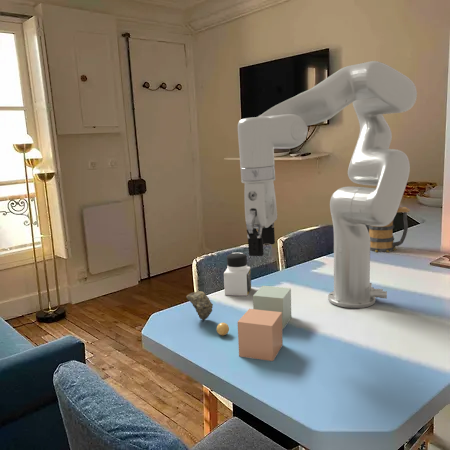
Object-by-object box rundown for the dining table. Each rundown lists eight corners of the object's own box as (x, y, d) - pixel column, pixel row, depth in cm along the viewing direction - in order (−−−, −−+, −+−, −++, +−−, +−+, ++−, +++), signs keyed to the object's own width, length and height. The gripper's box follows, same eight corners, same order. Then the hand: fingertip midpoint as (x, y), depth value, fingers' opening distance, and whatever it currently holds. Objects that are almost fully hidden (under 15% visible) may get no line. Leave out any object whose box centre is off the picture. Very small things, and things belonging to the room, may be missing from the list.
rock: (183, 291, 112) (198, 281, 113) (188, 301, 119) (202, 291, 120) (198, 313, 109) (213, 303, 110) (202, 322, 116) (216, 312, 117)
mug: (369, 245, 184) (369, 197, 180) (413, 249, 174) (414, 199, 171) (358, 252, 174) (359, 202, 170) (404, 257, 164) (406, 204, 160)
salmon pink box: (282, 345, 99) (281, 312, 98) (273, 361, 93) (272, 325, 91) (250, 341, 102) (249, 308, 101) (239, 356, 95) (237, 321, 94)
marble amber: (229, 335, 107) (231, 323, 107) (224, 338, 104) (227, 326, 104) (218, 331, 108) (220, 319, 108) (213, 334, 106) (215, 322, 105)
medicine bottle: (248, 296, 132) (246, 257, 129) (224, 295, 133) (222, 257, 131) (251, 288, 139) (250, 251, 136) (229, 287, 140) (227, 250, 138)
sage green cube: (291, 317, 115) (290, 288, 113) (283, 329, 108) (282, 298, 106) (263, 314, 118) (262, 285, 116) (254, 325, 111) (252, 295, 109)
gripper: (263, 179, 88) (268, 261, 92) (283, 169, 104) (287, 240, 108) (228, 180, 91) (234, 260, 95) (253, 170, 107) (257, 239, 110)
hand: (262, 249), depth 101 cm, fingers open, 9 cm apart
